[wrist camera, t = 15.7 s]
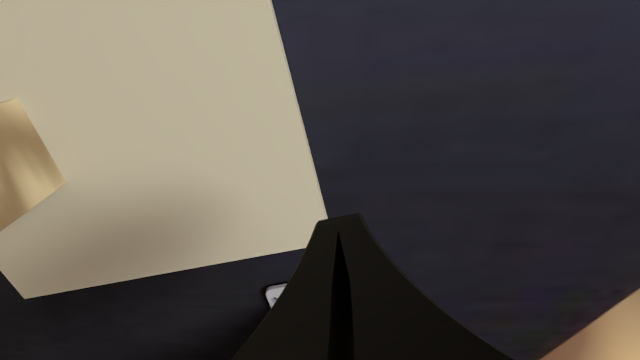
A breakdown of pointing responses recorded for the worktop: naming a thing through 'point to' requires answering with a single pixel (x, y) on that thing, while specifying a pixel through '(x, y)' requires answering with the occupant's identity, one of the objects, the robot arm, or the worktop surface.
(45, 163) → the cube
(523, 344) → the worktop surface
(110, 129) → the mat
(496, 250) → the worktop surface
